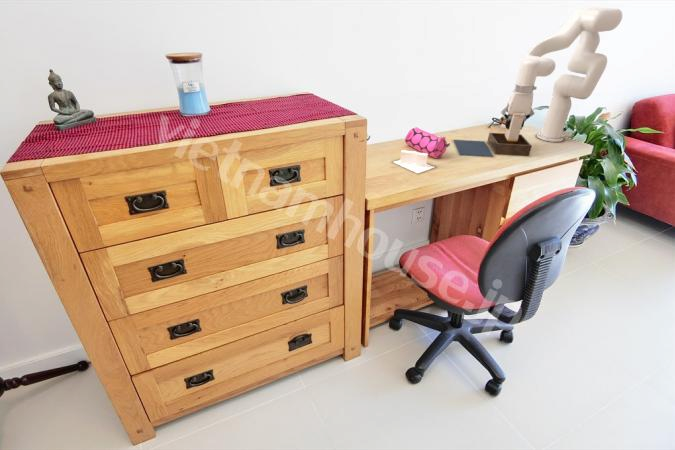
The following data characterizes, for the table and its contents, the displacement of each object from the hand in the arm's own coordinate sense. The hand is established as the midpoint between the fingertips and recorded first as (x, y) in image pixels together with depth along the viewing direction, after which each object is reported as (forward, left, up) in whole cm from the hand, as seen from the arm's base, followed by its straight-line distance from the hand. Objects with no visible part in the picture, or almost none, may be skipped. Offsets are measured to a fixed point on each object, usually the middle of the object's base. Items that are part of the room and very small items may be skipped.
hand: (513, 128), depth 177 cm
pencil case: (+41, +10, -11) cm, 44 cm away
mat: (+18, +2, -10) cm, 20 cm away
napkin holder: (+48, +27, -11) cm, 56 cm away
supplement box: (0, 0, -5) cm, 5 cm away
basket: (+1, 0, -10) cm, 10 cm away
